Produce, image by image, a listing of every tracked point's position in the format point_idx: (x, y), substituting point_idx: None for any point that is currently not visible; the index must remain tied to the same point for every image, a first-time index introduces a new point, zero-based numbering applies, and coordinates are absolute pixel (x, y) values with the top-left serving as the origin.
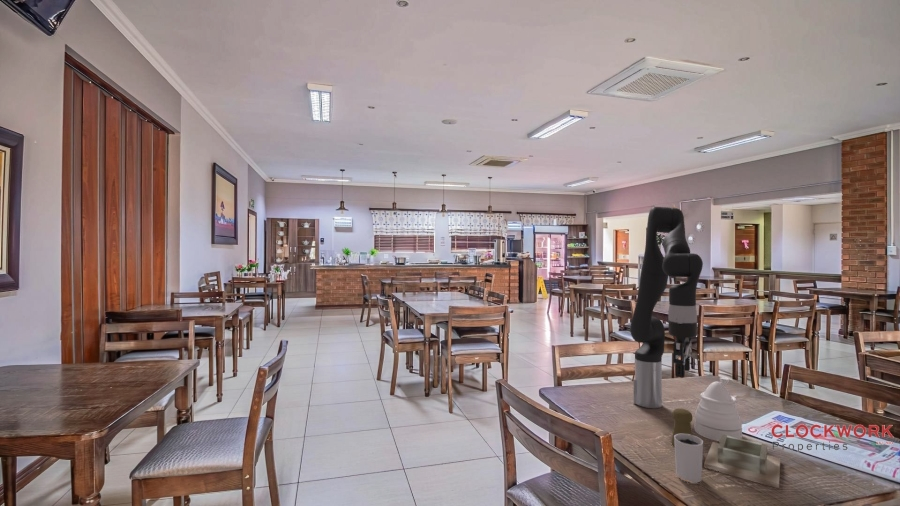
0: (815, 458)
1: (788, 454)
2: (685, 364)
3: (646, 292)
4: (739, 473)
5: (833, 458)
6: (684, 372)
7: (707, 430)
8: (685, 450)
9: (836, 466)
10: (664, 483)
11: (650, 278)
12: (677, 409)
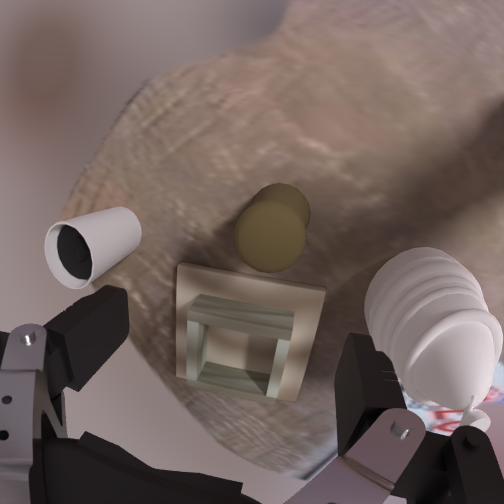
0: None
1: None
2: (344, 390)
3: None
4: (176, 326)
5: None
6: (109, 354)
7: (378, 286)
8: (56, 244)
9: (323, 451)
10: (78, 190)
11: None
12: (269, 223)
